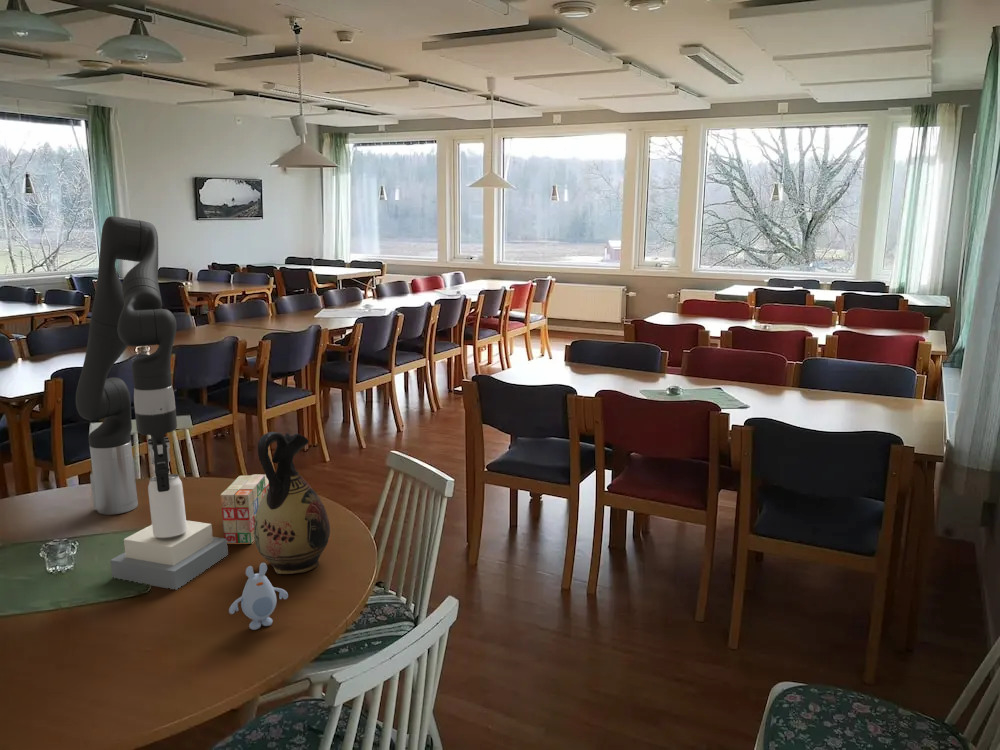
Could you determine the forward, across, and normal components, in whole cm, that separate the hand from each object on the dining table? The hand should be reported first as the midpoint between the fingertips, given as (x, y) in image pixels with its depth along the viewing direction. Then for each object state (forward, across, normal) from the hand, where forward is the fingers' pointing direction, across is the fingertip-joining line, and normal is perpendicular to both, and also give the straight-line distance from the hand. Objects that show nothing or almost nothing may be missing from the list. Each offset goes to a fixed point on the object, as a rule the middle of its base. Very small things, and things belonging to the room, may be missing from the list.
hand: (162, 484), depth 158 cm
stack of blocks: (+19, +14, -19) cm, 31 cm away
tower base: (+19, 0, 0) cm, 19 cm away
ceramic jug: (+19, -11, -23) cm, 32 cm away
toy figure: (+18, -32, -13) cm, 40 cm away
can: (+10, -3, 0) cm, 11 cm away
